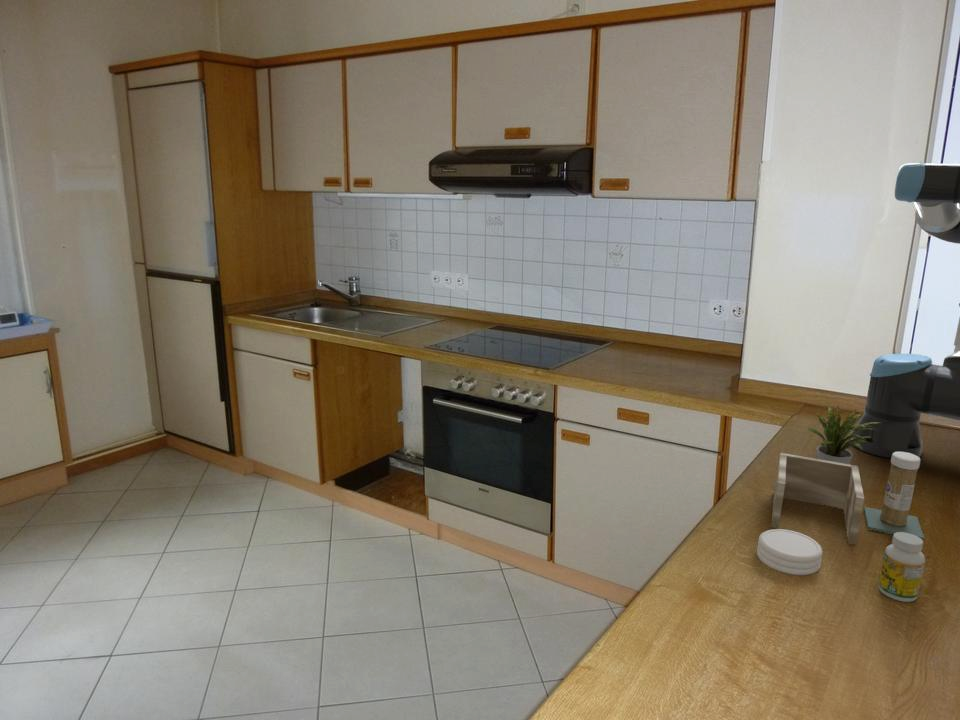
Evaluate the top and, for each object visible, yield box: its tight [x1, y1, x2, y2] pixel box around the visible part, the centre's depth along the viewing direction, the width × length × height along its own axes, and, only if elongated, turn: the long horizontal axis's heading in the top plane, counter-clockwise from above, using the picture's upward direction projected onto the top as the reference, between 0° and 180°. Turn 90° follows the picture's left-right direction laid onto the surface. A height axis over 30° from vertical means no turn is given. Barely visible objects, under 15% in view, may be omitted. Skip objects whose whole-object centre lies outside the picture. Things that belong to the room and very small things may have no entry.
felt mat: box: [863, 506, 925, 542], centre depth 134 cm, size 9×9×1 cm
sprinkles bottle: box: [880, 452, 921, 526], centre depth 132 cm, size 5×5×14 cm
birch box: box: [771, 452, 865, 546], centre depth 134 cm, size 16×14×9 cm
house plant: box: [805, 405, 880, 465], centre depth 150 cm, size 14×14×16 cm
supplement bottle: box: [878, 532, 926, 603], centre depth 110 cm, size 5×5×10 cm
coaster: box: [756, 528, 824, 576], centre depth 120 cm, size 10×10×4 cm
